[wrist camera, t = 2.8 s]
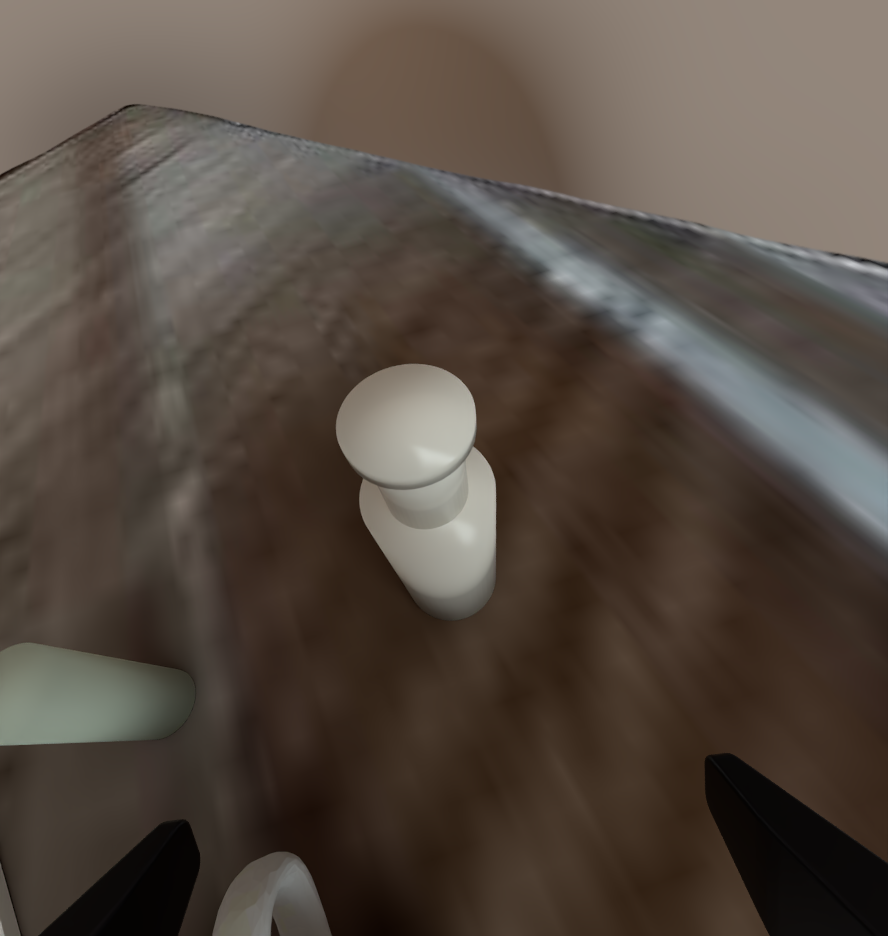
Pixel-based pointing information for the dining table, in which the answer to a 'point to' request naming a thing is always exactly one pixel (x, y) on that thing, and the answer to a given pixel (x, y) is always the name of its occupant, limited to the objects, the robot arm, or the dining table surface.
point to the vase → (424, 484)
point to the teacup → (272, 900)
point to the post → (87, 697)
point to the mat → (6, 911)
